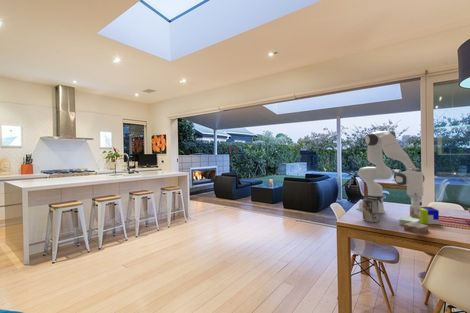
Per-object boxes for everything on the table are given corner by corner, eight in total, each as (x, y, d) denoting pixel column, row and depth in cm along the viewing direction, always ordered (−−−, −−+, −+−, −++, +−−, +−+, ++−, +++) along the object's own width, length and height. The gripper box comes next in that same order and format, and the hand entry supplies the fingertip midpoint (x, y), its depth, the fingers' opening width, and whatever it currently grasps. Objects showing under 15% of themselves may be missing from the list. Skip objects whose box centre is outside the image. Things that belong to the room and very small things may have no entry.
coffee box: (379, 222, 177) (378, 201, 177) (372, 223, 175) (372, 201, 175) (368, 218, 186) (368, 198, 186) (362, 219, 184) (362, 199, 184)
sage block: (399, 224, 171) (399, 219, 171) (404, 221, 177) (404, 216, 177) (416, 228, 163) (415, 222, 163) (420, 224, 169) (420, 219, 169)
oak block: (410, 216, 158) (409, 206, 158) (411, 215, 162) (411, 205, 162) (419, 218, 155) (419, 207, 155) (420, 216, 158) (420, 206, 158)
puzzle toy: (438, 224, 168) (438, 210, 168) (422, 223, 170) (422, 210, 170) (430, 219, 178) (430, 206, 178) (415, 219, 180) (415, 206, 180)
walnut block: (403, 230, 160) (403, 224, 160) (411, 227, 165) (411, 221, 165) (420, 234, 151) (420, 228, 151) (428, 231, 156) (428, 225, 156)
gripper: (422, 195, 147) (422, 217, 148) (419, 190, 164) (420, 209, 165) (409, 194, 151) (410, 215, 151) (408, 189, 168) (408, 208, 168)
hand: (415, 212), depth 158 cm, fingers closed on oak block, 5 cm apart
